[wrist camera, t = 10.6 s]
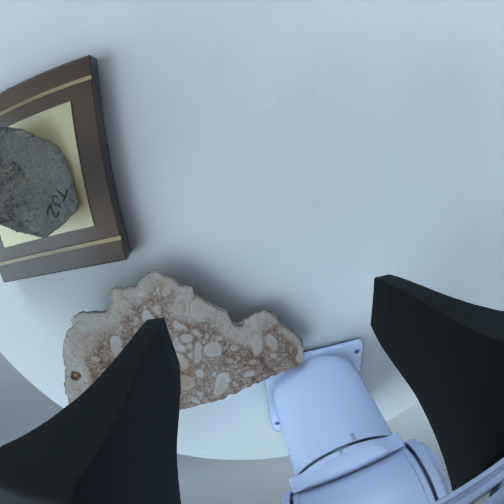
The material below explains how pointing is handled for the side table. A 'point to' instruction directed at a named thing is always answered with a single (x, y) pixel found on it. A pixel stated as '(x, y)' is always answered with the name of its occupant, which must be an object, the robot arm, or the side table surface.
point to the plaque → (81, 167)
